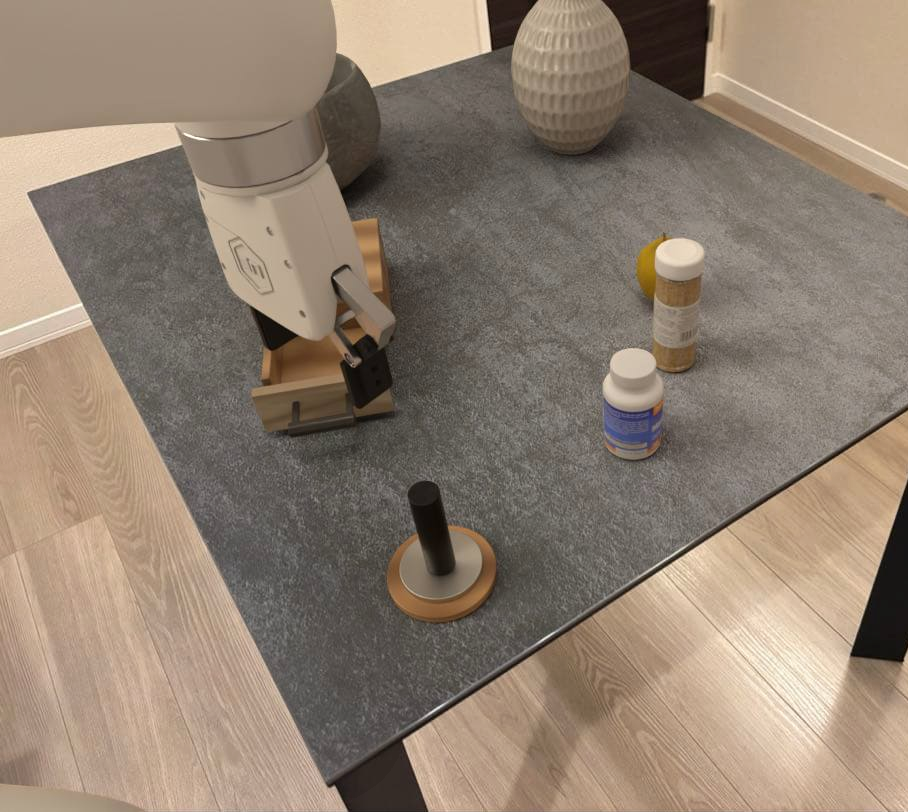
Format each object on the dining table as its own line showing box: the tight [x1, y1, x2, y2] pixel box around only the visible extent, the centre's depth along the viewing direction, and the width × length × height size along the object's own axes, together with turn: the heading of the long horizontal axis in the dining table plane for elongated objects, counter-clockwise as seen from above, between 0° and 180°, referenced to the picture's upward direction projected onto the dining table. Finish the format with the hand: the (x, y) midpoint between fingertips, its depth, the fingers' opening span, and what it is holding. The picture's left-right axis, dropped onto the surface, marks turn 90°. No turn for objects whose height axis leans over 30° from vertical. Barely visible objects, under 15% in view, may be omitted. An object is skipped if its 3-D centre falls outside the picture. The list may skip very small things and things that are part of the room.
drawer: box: [251, 303, 395, 439], centre depth 82 cm, size 18×12×5 cm
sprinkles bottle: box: [651, 237, 706, 373], centre depth 81 cm, size 5×5×14 cm
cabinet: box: [250, 217, 395, 346], centre depth 93 cm, size 15×14×7 cm
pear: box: [636, 231, 674, 302], centre depth 90 cm, size 6×6×8 cm
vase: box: [510, 0, 631, 156], centre depth 112 cm, size 16×16×22 cm
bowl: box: [316, 52, 382, 191], centre depth 112 cm, size 21×21×15 cm
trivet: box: [386, 524, 498, 624], centre depth 68 cm, size 9×9×1 cm
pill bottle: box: [602, 347, 665, 461], centre depth 74 cm, size 5×5×10 cm
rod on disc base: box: [400, 480, 483, 603], centre depth 64 cm, size 7×7×10 cm
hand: (328, 367), depth 58 cm, fingers open, 9 cm apart
